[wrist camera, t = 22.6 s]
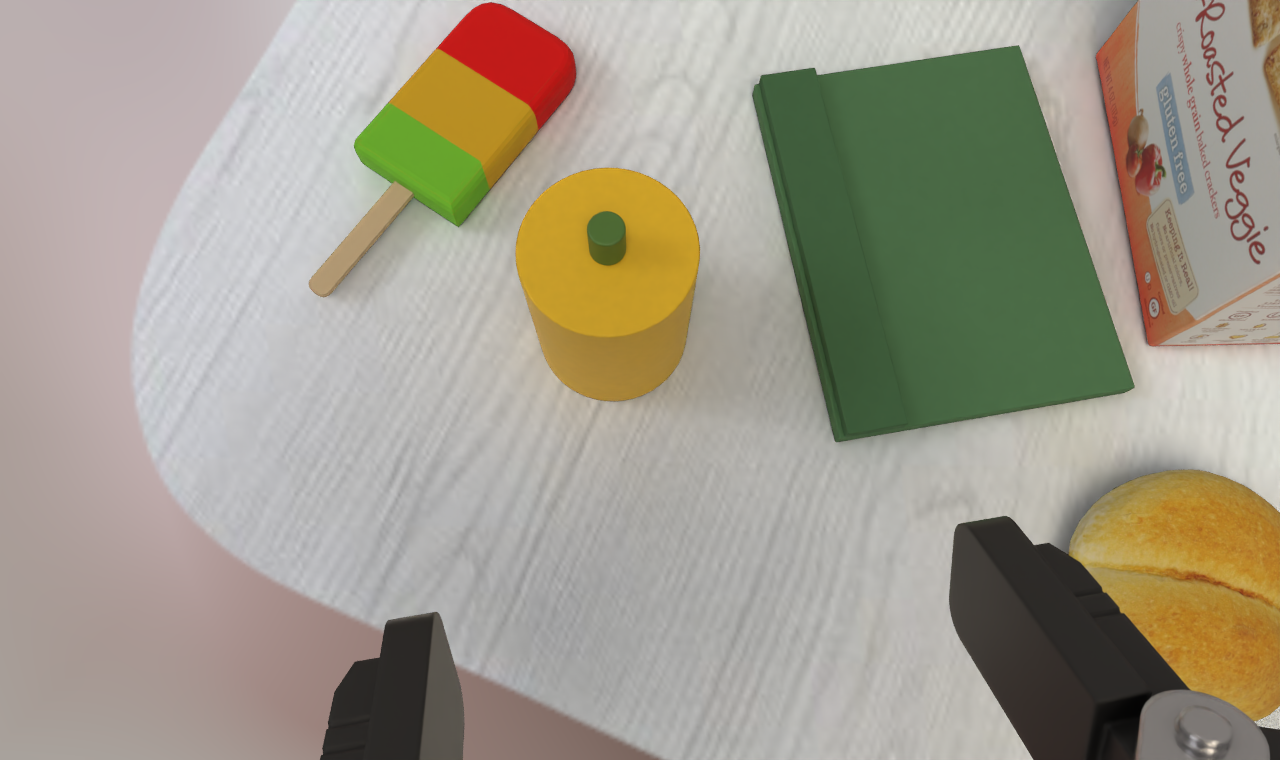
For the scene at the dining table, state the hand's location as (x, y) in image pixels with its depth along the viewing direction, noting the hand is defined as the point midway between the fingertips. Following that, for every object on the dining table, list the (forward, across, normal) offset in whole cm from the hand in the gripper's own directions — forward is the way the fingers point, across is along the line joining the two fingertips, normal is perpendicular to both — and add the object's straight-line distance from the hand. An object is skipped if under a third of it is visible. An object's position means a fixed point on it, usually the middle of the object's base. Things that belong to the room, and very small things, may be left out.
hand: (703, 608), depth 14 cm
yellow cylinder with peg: (+23, 0, +6) cm, 24 cm away
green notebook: (+24, -14, +5) cm, 28 cm away
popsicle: (+29, +6, 0) cm, 30 cm away
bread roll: (+13, -19, +16) cm, 28 cm away
